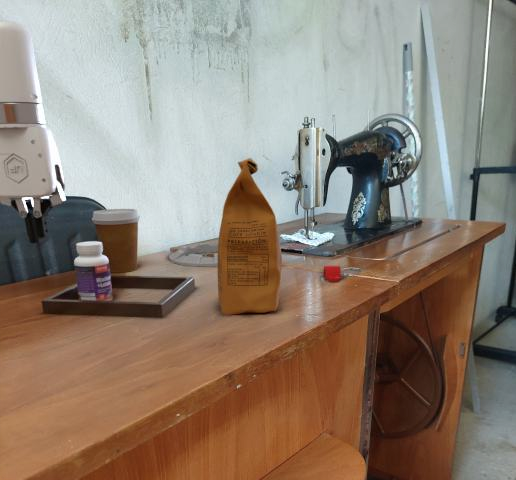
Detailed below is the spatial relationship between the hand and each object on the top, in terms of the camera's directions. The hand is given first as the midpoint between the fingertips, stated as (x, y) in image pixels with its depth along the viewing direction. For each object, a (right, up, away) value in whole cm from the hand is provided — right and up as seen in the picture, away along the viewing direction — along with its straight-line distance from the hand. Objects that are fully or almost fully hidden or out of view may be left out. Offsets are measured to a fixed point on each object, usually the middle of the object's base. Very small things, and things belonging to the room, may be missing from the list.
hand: (40, 241), depth 84 cm
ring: (+25, +3, +36) cm, 43 cm away
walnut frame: (+13, -10, +1) cm, 17 cm away
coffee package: (+34, -11, -2) cm, 36 cm away
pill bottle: (+9, -10, +2) cm, 13 cm away
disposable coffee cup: (+7, -1, +25) cm, 26 cm away
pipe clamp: (+50, -4, +15) cm, 52 cm away
